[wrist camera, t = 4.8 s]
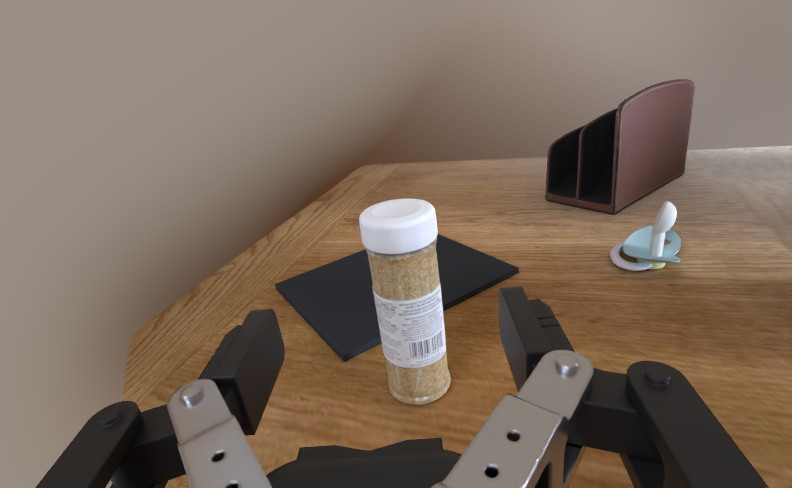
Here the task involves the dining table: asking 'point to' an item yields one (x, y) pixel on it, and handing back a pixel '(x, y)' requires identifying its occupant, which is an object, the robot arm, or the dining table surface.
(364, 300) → the placemat
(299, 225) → the dining table surface
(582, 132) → the letter holder
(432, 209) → the sprinkles bottle
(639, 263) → the pacifier
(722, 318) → the dining table surface
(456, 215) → the dining table surface
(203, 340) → the dining table surface
